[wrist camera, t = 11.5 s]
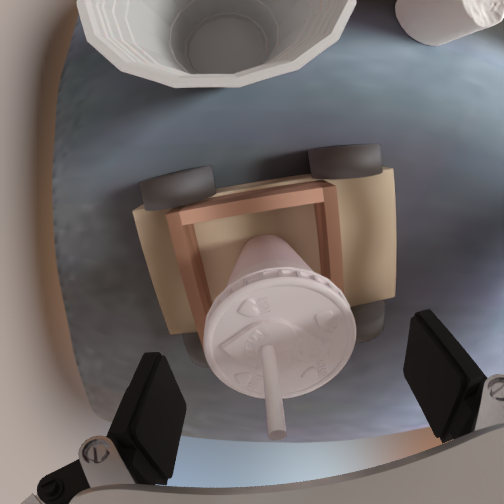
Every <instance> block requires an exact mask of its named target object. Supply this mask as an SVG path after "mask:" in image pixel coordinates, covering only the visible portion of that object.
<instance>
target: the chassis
mask: <svg viewBox="0 0 504 504" xmlns="http://www.w3.org/2000/svg"><path fill="white" fill-rule="evenodd" d="M308 155H309V162H310V169H311V174H304V175H297V176H290V177H283V178H276V179H270V180H263V181H257V182H251V183H245V184H240V185H234V186H228V187H223V188H217V189H216V187H215V181H214V176H213V171H212V166H211V165H210V166H202V167H196V168H191V169H186V170H181V171H177V172H173V173H169V174H165V175H161V176H157V177H154V178H150V179H147V180H144V181H141V182H139V186H140V190H141V195H142V199H143V203H144V204H142V205H141V206H139V207H138V208H136V209H134V210H133V211H132V212H133V216H134V220H135V223H136V227H137V231H138V235H139V238H140V242H141V246H142V249H143V253H144V256H145V260H146V263H147V266H148V270H149V273H150V276H151V280H152V283H153V286H154V289H155V292H156V295H157V298H158V301H159V304H160V307H161V310H162V313H163V316H164V319H165V322H166V325H167V328H168V330H169V333H170V335H173V334H182V333H183V340H184V343H185V346H186V349H187V351H188V354H189V357H190V359H191V361H192V362H193V363H195V364H196V365H198V366H201V367H206V368H210V366H209V364H208V362H207V360H206V357H205V353H204V347H203V338H204V328H205V322H206V315H207V314H208V312H209V310H210V308H211V306H212V304H213V302H214V300H215V299H216V298H217V297H218V295H219V294H220V293H221V292H222V291H223V290H224V289H225V288H226V286H227V284H228V281H229V279H230V276H231V274H232V271H233V269H234V267H235V264H236V262H237V259H238V257H239V255H240V252H241V250H242V248H243V246H244V245H245V244H246V243H247V242H248V241H249V240H250V239H252V238H254V237H256V236H259V235H263V234H271V235H275V236H278V237H280V238H282V239H283V240H285V241H286V242H287V243H288V244H289V246H290V247H291V248H292V249H293V250H294V251H295V252H296V253H297V254H298V255H299V256H300V257H301V258H302V260H303V261H304V262H305V263H306V264H307V265H308V266H309V267H310V268H311V269H312V270H313V272H315V273H318V274H320V275H322V276H324V277H326V278H328V279H329V280H330V281H331V282H332V283H334V284H335V285H336V286H337V287H338V288H339V289H340V290H341V291H342V293H343V294H344V296H345V298H346V300H347V301H348V303H349V305H350V309H351V311H352V313H353V316H354V319H355V323H356V341H355V343H363V342H367V341H370V340H372V339H374V338H376V337H377V336H378V335H380V333H381V332H382V331H383V328H384V318H385V303H384V301H383V300H384V299H388V298H392V297H395V286H396V203H395V185H394V172H393V169H392V168H388V167H383V166H382V159H381V150H380V144H354V145H340V146H330V147H322V148H315V149H310V150H308Z"/></svg>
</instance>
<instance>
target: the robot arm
mask: <svg viewBox="0 0 504 504" xmlns="http://www.w3.org/2000/svg"><path fill="white" fill-rule="evenodd" d="M403 372H404V376H405V378H406V380H407V382H408V384H409V386H410V388H411V390H412V392H413V393H414V395H415V397H416V399H417V401H418V403H419V405H420V407H421V409H422V411H423V413H424V415H425V417H426V419H427V421H428V423H429V425H430V427H431V428H432V431H433V433H434V435H435V436H436V437H437V438H439V437H440V439H441V441H442V443H444V444H442V445H440V446H437V447H434V448H431V449H429V450H426V451H423V452H420V453H418V454H415V455H412V456H409V457H406V458H403V459H400V460H396V461H393V462H390V463H386V464H383V465H379V466H376V467H372V468H368V469H364V470H360V471H356V472H352V473H347V474H343V475H338V476H333V477H328V478H322V479H317V480H310V481H303V482H296V483H288V484H279V485H269V486H257V487H256V486H255V487H235V488H198V487H197V488H196V487H172V486H159V485H167V480H168V478H171V477H172V475H173V470H174V465H175V461H176V456H177V451H178V446H179V441H180V437H181V432H182V427H183V423H184V418H185V414H186V403H185V400H184V398H183V396H182V394H181V391H180V389H179V387H178V385H177V382H176V380H175V378H174V376H173V373H172V371H171V369H170V366H169V364H168V361H167V359H166V357H165V356H162V355H161V354H160V353H159V352H150V353H144V355H143V356H142V359H141V361H140V363H139V365H138V367H137V370H136V372H135V374H134V376H133V378H132V381H131V383H130V385H129V387H128V388H127V390H126V392H125V394H124V396H123V399H122V401H121V403H120V405H119V408H118V410H117V412H116V415H115V417H114V419H113V422H112V424H111V427H110V429H109V431H108V434H107V436H106V437H105V436H94V437H91V438H89V439H87V440H86V441H85V442H84V443H83V444H82V445H81V447H80V449H79V453H78V454H79V459H78V460H76V461H74V462H72V463H70V464H68V465H67V466H65V467H62V468H61V469H58V470H56V471H55V472H52V473H50V474H48V475H46V476H45V477H44V478H42V479H41V480H40V482H39V484H38V486H37V495H36V496H35V495H34V494H31V495H30V496H29V497H28V498H27V499H26V500H24V501H23V502H22V503H21V504H504V375H503V374H496V375H492V376H491V377H489V378H487V377H486V376H485V375H484V373H483V372H482V371H481V369H480V368H479V367H478V366H477V364H476V363H475V362H474V361H473V359H472V358H471V357H470V356H469V354H468V353H467V352H466V351H465V349H464V348H463V347H462V346H461V345H460V343H459V342H458V341H457V340H456V339H455V337H454V336H453V335H452V334H451V333H450V332H449V330H448V329H447V328H446V327H445V326H444V325H443V323H442V322H441V321H440V320H439V319H438V318H437V317H436V316H435V314H434V313H433V312H432V311H431V310H430V309H427V310H423V311H419V312H416V313H415V315H414V317H412V318H411V321H410V329H409V337H408V344H407V350H406V356H405V362H404V368H403ZM452 439H454V440H452ZM449 440H452V441H449ZM447 441H449V442H447ZM445 442H447V443H445ZM155 484H159V485H155Z"/></svg>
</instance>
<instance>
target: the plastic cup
mask: <svg viewBox="0 0 504 504" xmlns="http://www.w3.org/2000/svg"><path fill="white" fill-rule="evenodd" d="M355 5H356V0H77V8H78V11H79V15H80V19H81V22H82V26H83V29H84V33H85V36H86V39H87V42H89V43H90V44H91V45H92V46H93V47H94V48H95V49H97V50H98V51H99V52H100V53H101V54H102V55H103V56H104V57H105V58H107V59H108V60H109V61H110V62H111V63H112V64H113V65H114V66H115V67H117V68H118V69H119V70H120V71H122V72H125V73H129V74H132V75H135V76H139V77H142V78H145V79H149V80H152V81H155V82H158V83H161V84H164V85H167V86H170V87H173V88H190V87H237V88H239V87H242V86H245V85H248V84H251V83H255V82H258V81H261V80H264V79H267V78H271V77H274V76H278V75H281V74H285V73H289V72H292V71H296V70H299V69H300V68H301V67H303V66H304V65H305V64H306V63H308V62H309V61H310V60H312V59H313V58H314V57H316V56H317V55H318V54H320V53H321V52H322V51H324V50H325V49H327V48H328V47H329V46H331V45H332V44H334V43H335V42H336V41H338V40H339V38H340V36H341V34H342V32H343V30H344V28H345V26H346V24H347V22H348V20H349V18H350V16H351V14H352V12H353V9H354V7H355Z"/></svg>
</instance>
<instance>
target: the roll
mask: <svg viewBox="0 0 504 504" xmlns="http://www.w3.org/2000/svg"><path fill="white" fill-rule="evenodd" d="M395 13H396V18H397V19H398V21H399V23H400V25H401V27H402V28H403V29H404V31H405V32H406V33H407V34H408V35H409V36H410V37H412V38H413V39H415V40H416V41H418V42H420V43H423V44H426V45H430V46H440V45H442V44H445V43H448V42H450V41H452V40H455V39H458V38H460V37H463V36H466V35H468V34H471V33H474V32H476V31H479V30H483V29H485V28H488V27H491V26H493V25H496V24H498V23H499V22H501V21H502V19H503V18H504V0H397V2H396V4H395Z"/></svg>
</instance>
